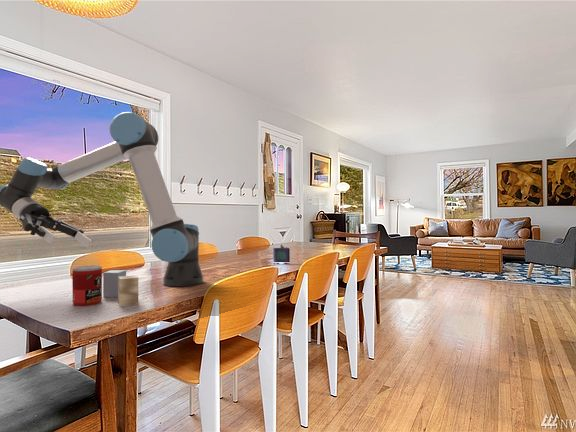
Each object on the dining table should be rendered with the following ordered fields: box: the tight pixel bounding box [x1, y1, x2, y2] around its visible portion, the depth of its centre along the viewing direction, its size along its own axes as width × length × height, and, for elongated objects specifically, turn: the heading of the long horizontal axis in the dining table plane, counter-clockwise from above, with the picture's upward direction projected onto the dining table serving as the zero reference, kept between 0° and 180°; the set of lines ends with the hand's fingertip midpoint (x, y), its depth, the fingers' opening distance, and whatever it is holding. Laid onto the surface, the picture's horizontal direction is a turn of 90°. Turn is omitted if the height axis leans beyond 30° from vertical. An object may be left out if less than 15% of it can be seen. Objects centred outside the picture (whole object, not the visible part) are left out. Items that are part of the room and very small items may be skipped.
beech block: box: [117, 274, 139, 307], centre depth 104 cm, size 5×5×8 cm
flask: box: [272, 244, 291, 263], centre depth 190 cm, size 9×3×11 cm, turn 84°
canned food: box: [71, 264, 103, 307], centre depth 104 cm, size 8×8×11 cm
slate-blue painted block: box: [102, 269, 127, 298], centre depth 115 cm, size 5×5×8 cm
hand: (72, 242), depth 110 cm, fingers open, 13 cm apart
